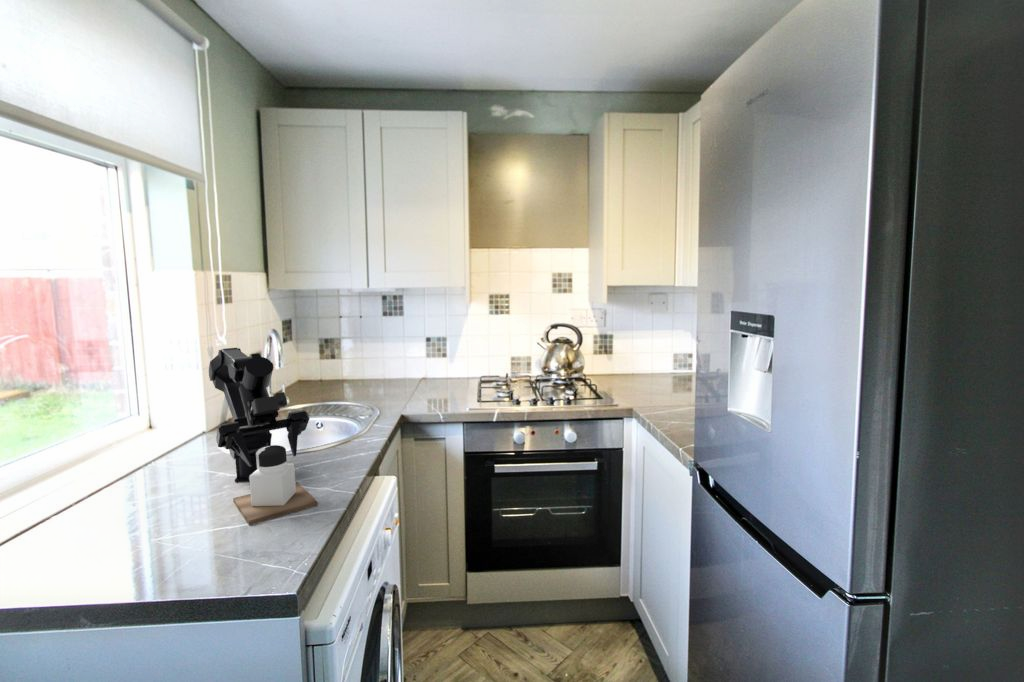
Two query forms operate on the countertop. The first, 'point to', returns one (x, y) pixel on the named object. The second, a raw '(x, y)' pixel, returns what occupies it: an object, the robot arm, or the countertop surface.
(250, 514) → the walnut base
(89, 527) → the countertop surface
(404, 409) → the countertop surface
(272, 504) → the medicine bottle
